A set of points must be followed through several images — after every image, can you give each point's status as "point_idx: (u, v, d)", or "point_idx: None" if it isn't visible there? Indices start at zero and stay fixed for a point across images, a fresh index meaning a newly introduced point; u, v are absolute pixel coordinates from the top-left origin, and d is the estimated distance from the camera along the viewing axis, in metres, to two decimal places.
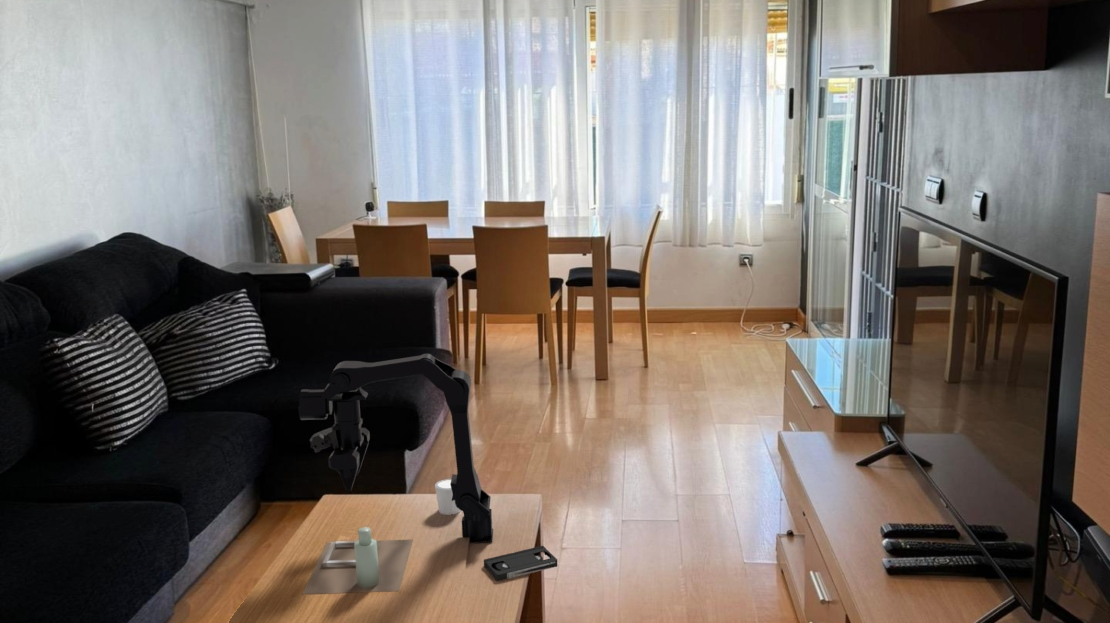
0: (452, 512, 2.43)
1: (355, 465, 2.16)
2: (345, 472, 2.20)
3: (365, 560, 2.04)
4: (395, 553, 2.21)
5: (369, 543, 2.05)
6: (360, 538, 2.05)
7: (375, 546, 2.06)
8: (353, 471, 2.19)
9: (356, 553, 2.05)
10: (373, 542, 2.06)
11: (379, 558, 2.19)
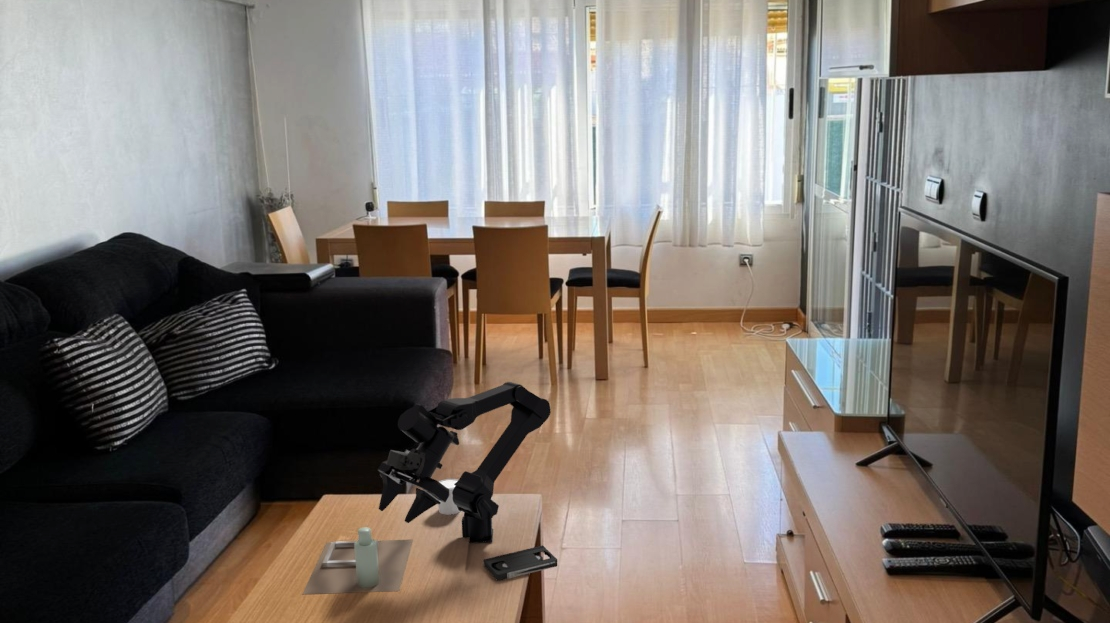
0: (452, 512, 2.43)
1: None
2: (420, 503, 2.08)
3: (365, 560, 2.04)
4: (395, 553, 2.21)
5: (369, 543, 2.05)
6: (360, 538, 2.05)
7: (375, 546, 2.06)
8: (428, 505, 2.09)
9: (356, 553, 2.05)
10: (373, 542, 2.06)
11: (379, 558, 2.19)
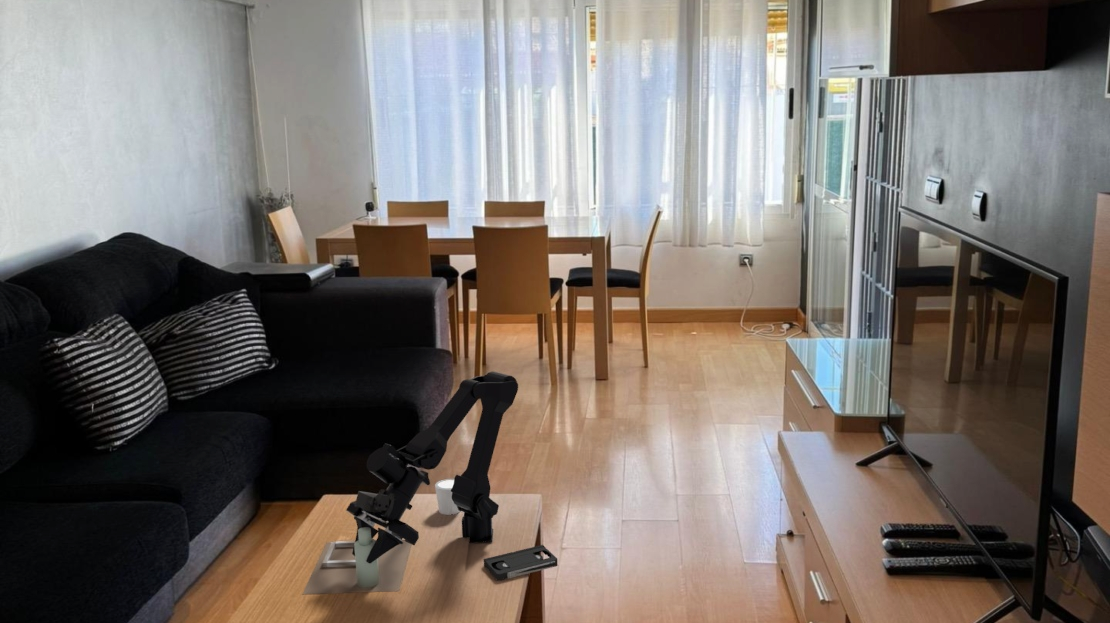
0: (452, 512, 2.43)
1: None
2: (382, 543, 2.05)
3: (365, 560, 2.04)
4: (395, 553, 2.21)
5: (369, 543, 2.05)
6: (360, 538, 2.05)
7: None
8: (391, 545, 2.06)
9: (356, 553, 2.05)
10: (373, 542, 2.06)
11: (379, 558, 2.19)
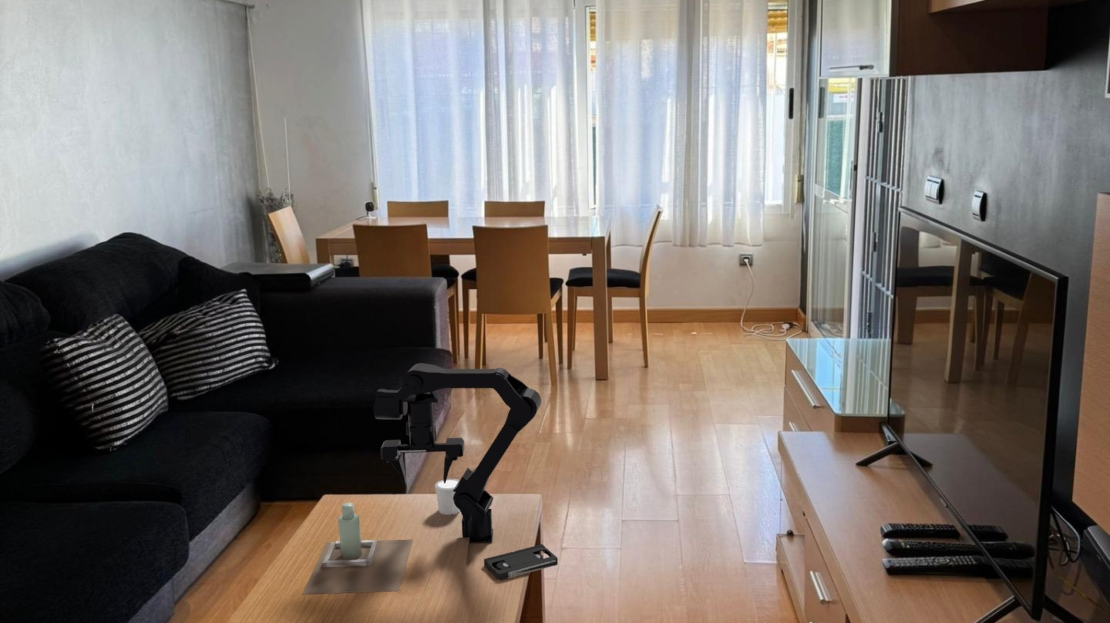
0: (452, 512, 2.43)
1: (381, 457, 2.24)
2: None
3: (343, 533, 2.17)
4: (395, 553, 2.21)
5: (349, 518, 2.18)
6: (342, 512, 2.18)
7: (354, 522, 2.17)
8: None
9: (338, 525, 2.18)
10: (355, 518, 2.18)
11: (379, 558, 2.19)
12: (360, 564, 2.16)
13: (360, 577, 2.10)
